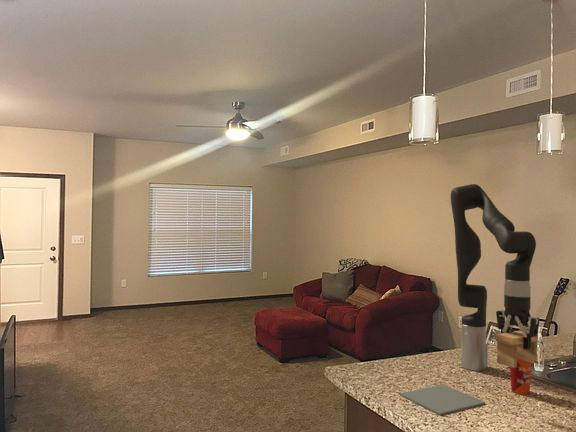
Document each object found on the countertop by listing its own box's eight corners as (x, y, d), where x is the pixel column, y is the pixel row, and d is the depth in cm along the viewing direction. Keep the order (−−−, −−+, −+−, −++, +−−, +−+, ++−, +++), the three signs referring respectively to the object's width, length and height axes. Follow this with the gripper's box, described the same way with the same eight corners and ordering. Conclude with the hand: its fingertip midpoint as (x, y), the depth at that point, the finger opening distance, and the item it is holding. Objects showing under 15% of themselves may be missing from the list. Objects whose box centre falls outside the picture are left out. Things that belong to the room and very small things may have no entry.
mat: (443, 385, 165) (443, 384, 165) (485, 404, 149) (485, 402, 149) (399, 395, 155) (399, 393, 155) (439, 415, 139) (439, 413, 139)
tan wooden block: (520, 357, 152) (520, 330, 152) (537, 362, 147) (537, 334, 147) (496, 362, 147) (496, 334, 147) (512, 368, 141) (513, 338, 141)
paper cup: (523, 397, 154) (523, 355, 154) (503, 390, 161) (503, 349, 161) (538, 393, 158) (538, 352, 158) (517, 386, 165) (518, 347, 165)
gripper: (546, 296, 142) (545, 351, 142) (505, 290, 155) (505, 339, 155) (530, 298, 139) (530, 354, 139) (489, 291, 151) (489, 342, 151)
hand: (516, 346), depth 147 cm, fingers closed on tan wooden block, 6 cm apart
